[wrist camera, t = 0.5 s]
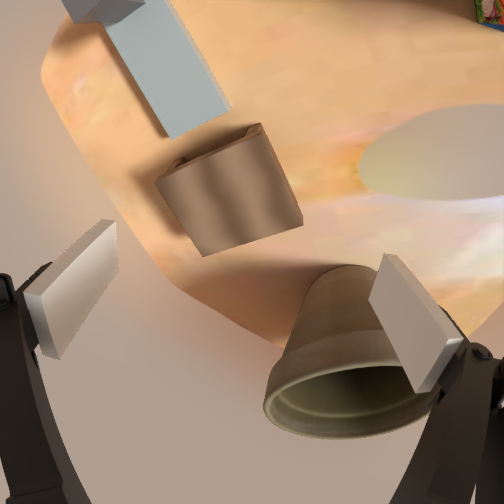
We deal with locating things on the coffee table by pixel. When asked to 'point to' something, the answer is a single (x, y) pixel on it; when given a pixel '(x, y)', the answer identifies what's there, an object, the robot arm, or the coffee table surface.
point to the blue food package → (490, 13)
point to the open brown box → (231, 194)
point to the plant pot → (342, 367)
